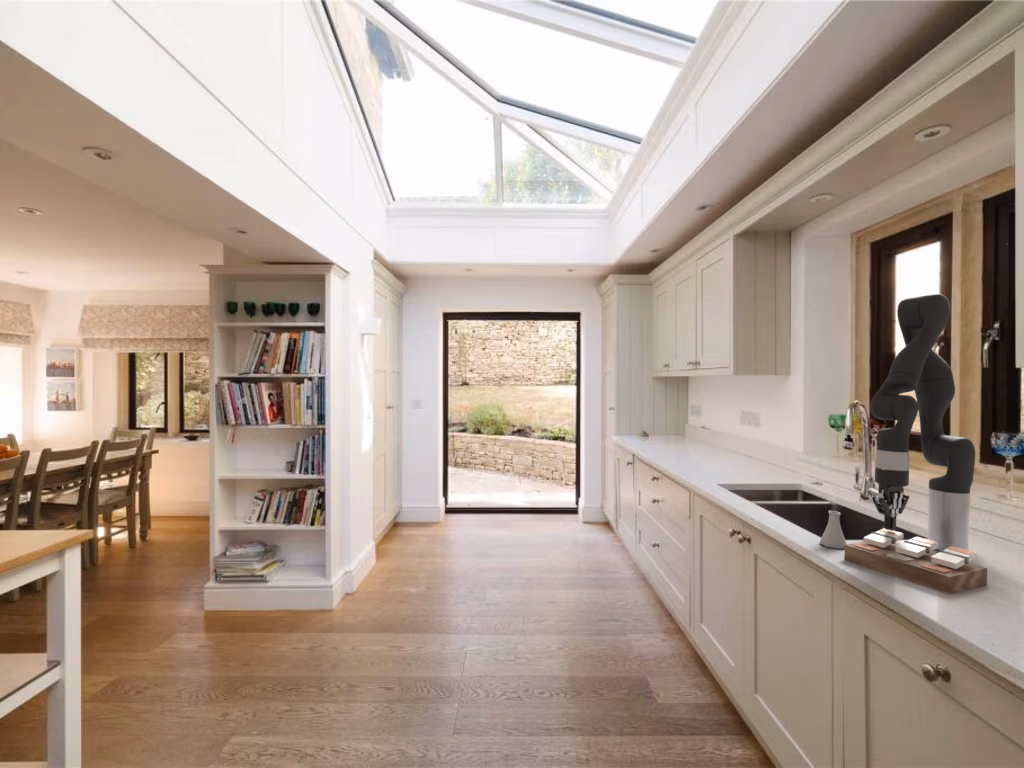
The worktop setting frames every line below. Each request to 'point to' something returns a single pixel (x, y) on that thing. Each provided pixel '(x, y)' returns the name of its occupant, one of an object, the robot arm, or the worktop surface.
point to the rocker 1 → (883, 538)
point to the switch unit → (917, 568)
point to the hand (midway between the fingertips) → (889, 529)
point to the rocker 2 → (916, 547)
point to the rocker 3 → (954, 557)
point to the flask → (833, 532)
